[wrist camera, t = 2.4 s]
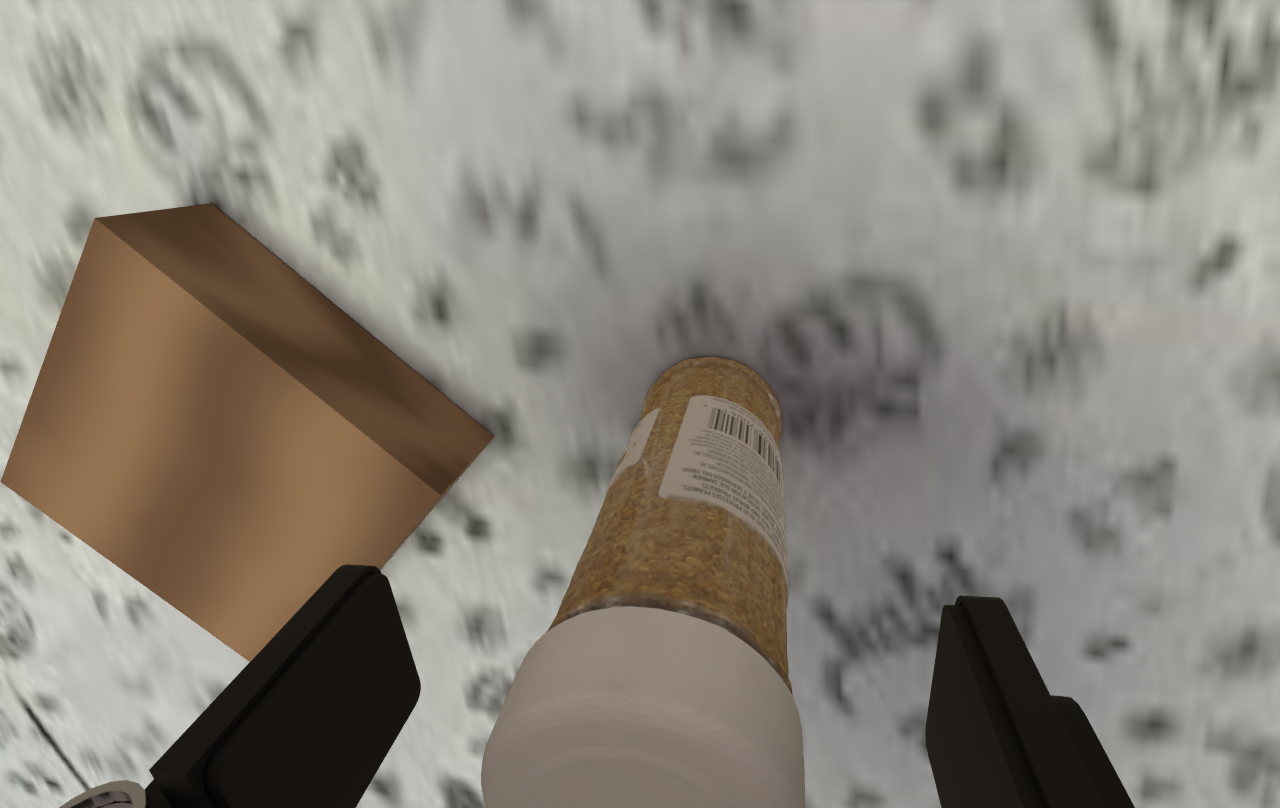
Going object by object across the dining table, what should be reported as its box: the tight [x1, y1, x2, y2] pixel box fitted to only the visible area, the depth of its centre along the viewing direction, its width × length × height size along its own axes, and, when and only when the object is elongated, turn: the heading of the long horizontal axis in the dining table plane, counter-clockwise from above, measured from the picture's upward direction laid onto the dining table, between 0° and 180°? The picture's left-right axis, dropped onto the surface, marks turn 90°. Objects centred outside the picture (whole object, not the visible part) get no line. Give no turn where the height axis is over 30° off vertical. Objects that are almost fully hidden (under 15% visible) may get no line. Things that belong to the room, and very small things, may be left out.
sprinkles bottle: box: [481, 357, 805, 808], centre depth 14 cm, size 5×5×14 cm
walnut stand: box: [1, 203, 494, 662], centre depth 22 cm, size 12×12×4 cm
